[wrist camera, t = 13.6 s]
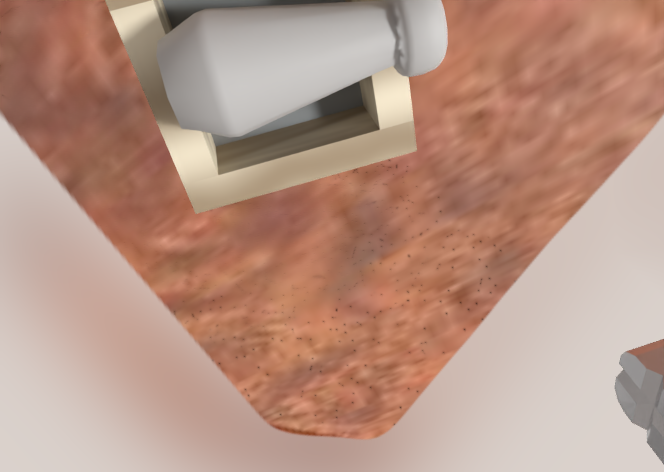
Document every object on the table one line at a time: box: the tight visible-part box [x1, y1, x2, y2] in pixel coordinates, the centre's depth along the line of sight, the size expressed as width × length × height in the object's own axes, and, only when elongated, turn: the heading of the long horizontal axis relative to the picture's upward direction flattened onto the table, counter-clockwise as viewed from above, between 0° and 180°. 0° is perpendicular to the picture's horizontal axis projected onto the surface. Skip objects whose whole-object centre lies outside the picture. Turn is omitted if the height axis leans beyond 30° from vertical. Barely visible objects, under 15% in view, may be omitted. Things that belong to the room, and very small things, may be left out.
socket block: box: [105, 0, 417, 214], centre depth 30 cm, size 14×14×4 cm
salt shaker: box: [156, 0, 447, 137], centre depth 26 cm, size 6×6×13 cm
